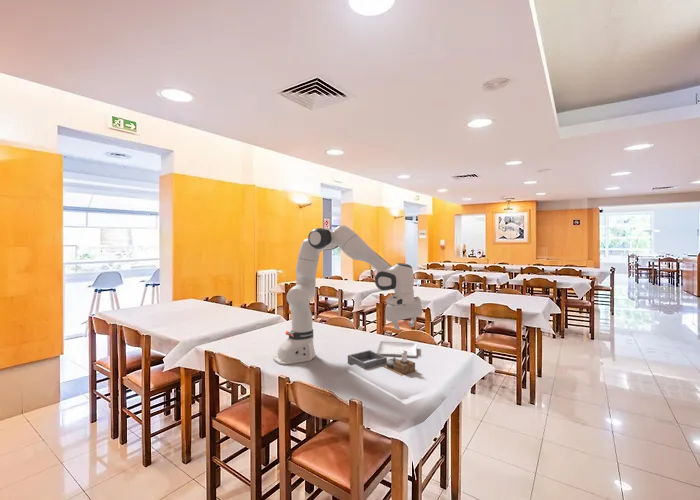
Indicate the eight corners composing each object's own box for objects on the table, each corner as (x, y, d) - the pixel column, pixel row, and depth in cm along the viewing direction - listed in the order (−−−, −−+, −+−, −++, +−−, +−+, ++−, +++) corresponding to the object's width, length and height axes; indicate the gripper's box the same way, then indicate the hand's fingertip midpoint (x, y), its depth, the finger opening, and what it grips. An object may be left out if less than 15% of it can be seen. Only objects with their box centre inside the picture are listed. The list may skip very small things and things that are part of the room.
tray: (364, 372, 159) (364, 363, 159) (347, 363, 171) (347, 355, 170) (386, 365, 167) (386, 357, 167) (369, 357, 178) (369, 350, 178)
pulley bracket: (401, 378, 151) (401, 366, 151) (381, 368, 163) (381, 357, 162) (417, 373, 156) (417, 362, 156) (396, 364, 168) (396, 353, 168)
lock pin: (404, 372, 155) (404, 352, 155) (400, 370, 157) (400, 351, 157) (408, 370, 156) (408, 351, 156) (404, 369, 158) (404, 350, 158)
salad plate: (416, 361, 173) (416, 355, 173) (375, 359, 177) (375, 352, 177) (416, 348, 194) (416, 342, 194) (380, 346, 198) (380, 340, 198)
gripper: (415, 295, 164) (415, 323, 164) (383, 299, 152) (383, 330, 153) (425, 296, 159) (425, 326, 159) (392, 301, 147) (392, 333, 148)
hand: (404, 328), depth 156 cm, fingers open, 8 cm apart
